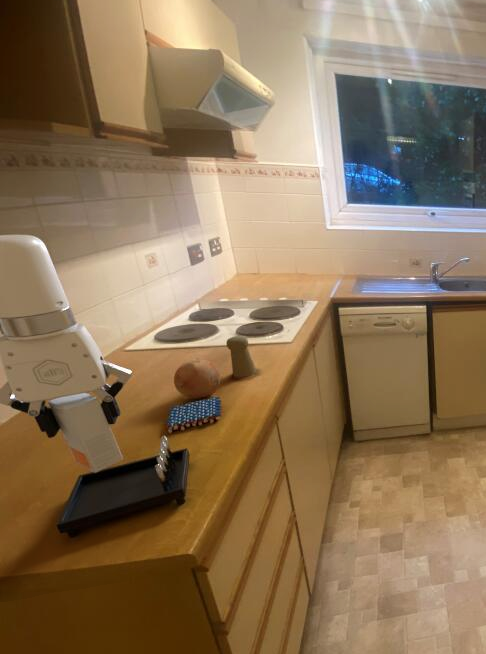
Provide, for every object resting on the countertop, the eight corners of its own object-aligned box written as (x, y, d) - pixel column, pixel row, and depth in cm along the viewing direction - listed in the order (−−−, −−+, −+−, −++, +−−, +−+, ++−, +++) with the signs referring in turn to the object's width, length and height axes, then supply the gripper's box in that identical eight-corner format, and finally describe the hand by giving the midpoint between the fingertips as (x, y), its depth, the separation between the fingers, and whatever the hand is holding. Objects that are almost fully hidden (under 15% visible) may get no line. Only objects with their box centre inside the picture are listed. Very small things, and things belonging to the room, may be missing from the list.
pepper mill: (240, 379, 121) (231, 342, 117) (228, 374, 124) (218, 338, 120) (261, 371, 126) (253, 336, 122) (249, 367, 129) (240, 332, 125)
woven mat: (170, 413, 104) (167, 406, 103) (222, 402, 109) (220, 395, 108) (166, 434, 96) (163, 426, 95) (222, 420, 101) (220, 413, 100)
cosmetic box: (75, 464, 72) (46, 401, 68) (106, 450, 76) (80, 389, 71) (94, 474, 70) (65, 409, 65) (125, 459, 74) (99, 397, 69)
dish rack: (64, 541, 68) (43, 501, 65) (85, 490, 79) (68, 453, 76) (187, 503, 76) (174, 466, 73) (191, 461, 87) (180, 427, 84)
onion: (188, 389, 116) (177, 354, 112) (230, 385, 118) (221, 351, 114) (172, 406, 107) (159, 370, 103) (217, 402, 109) (206, 366, 105)
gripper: (-63, 341, 56) (-1, 455, 63) (111, 319, 65) (149, 422, 72) (-36, 325, 62) (18, 431, 69) (120, 307, 71) (154, 403, 77)
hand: (84, 426), depth 70 cm, fingers closed on cosmetic box, 6 cm apart
